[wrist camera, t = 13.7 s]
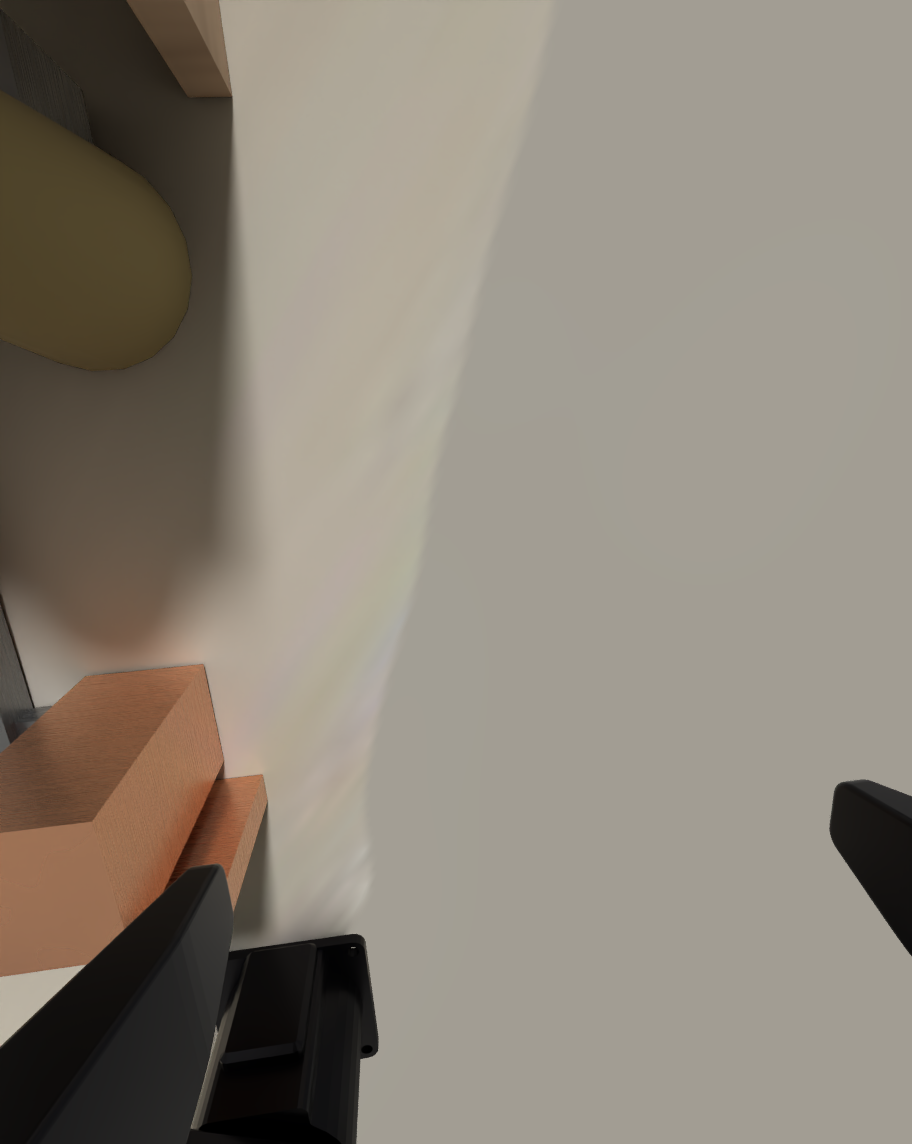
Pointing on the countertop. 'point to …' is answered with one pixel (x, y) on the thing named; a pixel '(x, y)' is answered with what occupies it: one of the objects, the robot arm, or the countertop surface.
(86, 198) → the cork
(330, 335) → the countertop surface
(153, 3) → the spice cubby
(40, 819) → the grey brown long block
